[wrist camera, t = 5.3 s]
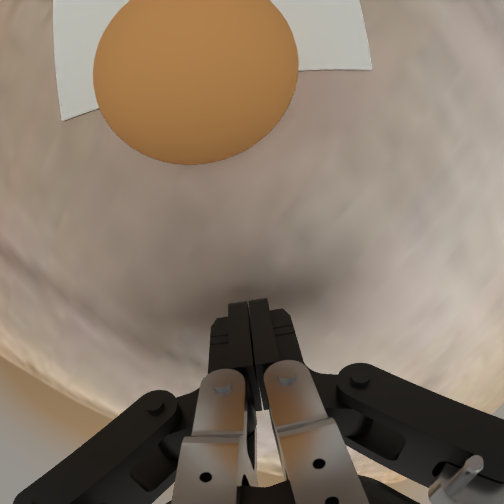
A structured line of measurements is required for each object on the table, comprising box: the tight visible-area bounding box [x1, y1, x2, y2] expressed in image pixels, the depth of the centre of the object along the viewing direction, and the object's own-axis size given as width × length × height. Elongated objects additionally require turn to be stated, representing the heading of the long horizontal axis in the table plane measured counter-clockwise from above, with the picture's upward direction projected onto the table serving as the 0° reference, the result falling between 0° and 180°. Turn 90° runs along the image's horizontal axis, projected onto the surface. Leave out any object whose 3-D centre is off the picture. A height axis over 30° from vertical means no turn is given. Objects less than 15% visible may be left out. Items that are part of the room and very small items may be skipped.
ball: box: [93, 0, 299, 165], centre depth 7 cm, size 6×6×6 cm
